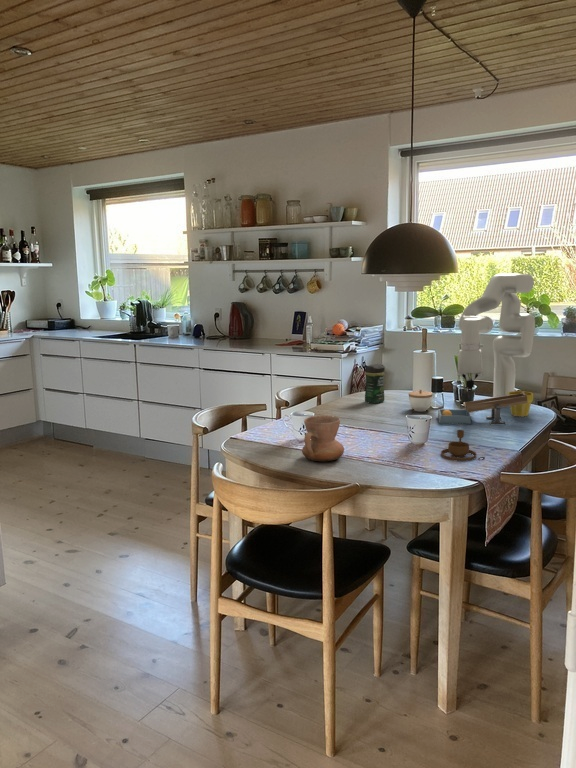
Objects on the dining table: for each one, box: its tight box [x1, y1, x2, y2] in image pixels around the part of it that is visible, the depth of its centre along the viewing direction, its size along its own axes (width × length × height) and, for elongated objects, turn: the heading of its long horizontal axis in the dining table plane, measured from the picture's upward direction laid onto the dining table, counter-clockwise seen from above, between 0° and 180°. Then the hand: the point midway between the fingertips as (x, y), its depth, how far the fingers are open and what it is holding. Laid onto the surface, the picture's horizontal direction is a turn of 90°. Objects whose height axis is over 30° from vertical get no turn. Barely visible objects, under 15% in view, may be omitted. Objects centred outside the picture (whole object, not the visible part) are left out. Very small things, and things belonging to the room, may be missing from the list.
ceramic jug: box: [301, 414, 345, 463], centre depth 215 cm, size 18×14×14 cm
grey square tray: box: [437, 408, 472, 425], centre depth 264 cm, size 12×12×4 cm
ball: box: [442, 410, 452, 416], centre depth 265 cm, size 4×4×4 cm
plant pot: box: [508, 390, 534, 418], centre depth 271 cm, size 10×10×10 cm
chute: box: [462, 392, 528, 414], centre depth 265 cm, size 15×24×4 cm, turn 81°
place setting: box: [440, 429, 486, 462], centre depth 218 cm, size 18×20×6 cm
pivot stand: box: [485, 405, 506, 425], centre depth 261 cm, size 11×6×8 cm, turn 171°
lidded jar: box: [408, 389, 434, 412], centre depth 285 cm, size 11×11×9 cm
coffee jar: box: [364, 363, 386, 404], centre depth 303 cm, size 10×8×19 cm
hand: (469, 388), depth 271 cm, fingers closed
